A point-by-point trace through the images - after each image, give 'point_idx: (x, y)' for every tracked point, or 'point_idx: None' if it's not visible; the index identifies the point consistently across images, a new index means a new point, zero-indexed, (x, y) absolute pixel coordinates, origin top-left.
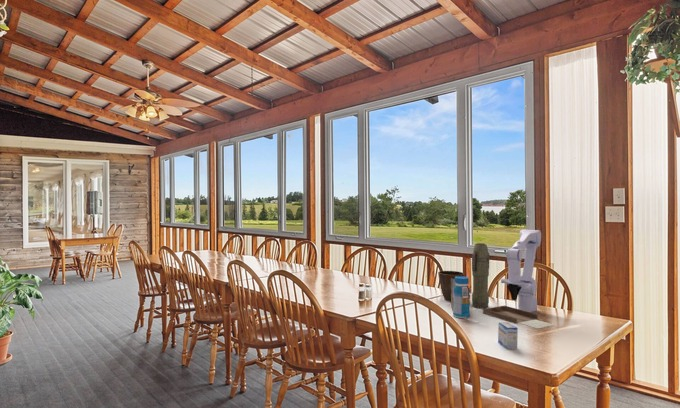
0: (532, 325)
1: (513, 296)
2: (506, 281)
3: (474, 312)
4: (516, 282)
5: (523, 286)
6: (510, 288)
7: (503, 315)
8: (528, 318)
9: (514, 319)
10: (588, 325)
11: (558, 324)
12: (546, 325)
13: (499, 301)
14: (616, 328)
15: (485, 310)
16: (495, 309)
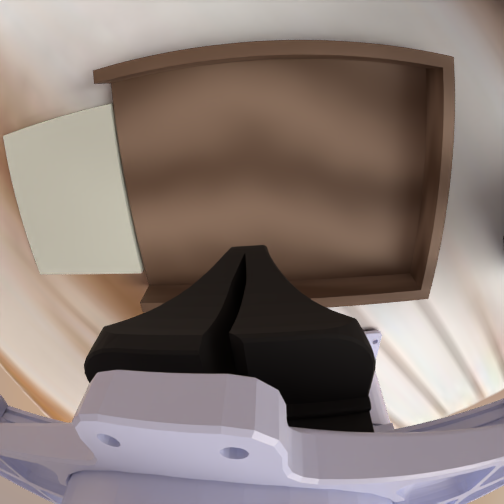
0: (41, 146)
1: (220, 262)
2: (429, 453)
3: (490, 68)
4: (70, 484)
5: (16, 419)
6: (248, 320)
7: (218, 45)
8: (177, 253)
9: (107, 68)
10: (64, 385)
11: (77, 317)
12: (32, 226)
13: (496, 370)
14: (40, 406)
15: (426, 52)
16: (430, 186)
